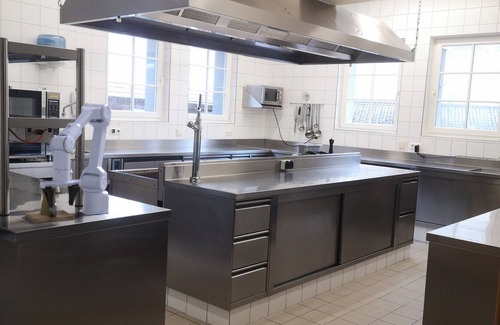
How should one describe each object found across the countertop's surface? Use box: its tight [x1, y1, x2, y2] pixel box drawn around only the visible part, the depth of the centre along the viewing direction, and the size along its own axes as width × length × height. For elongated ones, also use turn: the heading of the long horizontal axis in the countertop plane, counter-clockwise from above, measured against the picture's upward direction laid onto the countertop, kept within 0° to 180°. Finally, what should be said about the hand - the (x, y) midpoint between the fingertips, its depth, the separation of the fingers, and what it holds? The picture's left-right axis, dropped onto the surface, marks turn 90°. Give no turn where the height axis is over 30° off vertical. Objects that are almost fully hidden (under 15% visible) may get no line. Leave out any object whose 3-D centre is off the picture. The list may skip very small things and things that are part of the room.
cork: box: [39, 187, 57, 215], centre depth 185 cm, size 6×6×11 cm
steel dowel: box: [49, 202, 58, 217], centre depth 180 cm, size 2×2×5 cm
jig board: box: [24, 209, 74, 224], centre depth 184 cm, size 14×12×2 cm
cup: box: [58, 168, 74, 194], centre depth 236 cm, size 7×7×12 cm
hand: (60, 206), depth 177 cm, fingers open, 7 cm apart
